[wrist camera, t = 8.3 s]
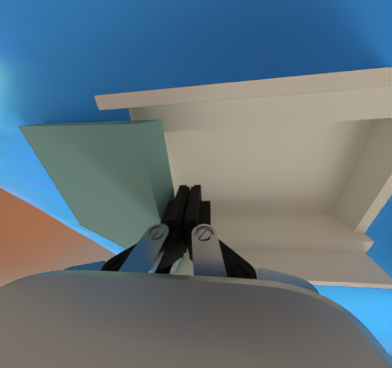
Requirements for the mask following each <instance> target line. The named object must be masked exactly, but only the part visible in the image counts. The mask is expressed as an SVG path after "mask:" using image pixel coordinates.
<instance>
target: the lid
mask: <svg viewBox="0 0 392 368" xmlns="http://www.w3.org/2000/svg"><path fill="white" fill-rule="evenodd" d="M18 127H19V129H20V130H21V132H22V133H23V135H24V136H25V138H26V140H27V141H28V143H29V144H30V146H31V148H32V149H33V151H34V152H35V154H36V155H37V157H38V159H39V160H40V162H41V163H42V165H43V167H44V168H45V170H46V171H47V173H48V174H49V176H50V178H51V179H52V181H53V182H54V184H55V186H56V187H57V189H58V190H59V192H60V193H61V195H62V197H63V198H64V200H65V201H66V203H67V205H68V206H69V208H70V209H71V211H72V212H73V214H74V216H75V217H76V219H77V220H78V222H79V224H80V225H81V226H83V227H85V228H87V229H89V230H91V231H93V232H95V233H97V234H99V235H100V236H102V237H104V238H106V239H108V240H110V241H112V242H114V243H116V244H118V245H119V246H121V247H123V248H125V249H128V248H129V247H131V246H133V245H135V244H136V243H138V242H139V240H140V239H141V237H142V236H143V234H144V233H145V232H146V230H147V229H148V228H149V227H151V226H152V225H155V224H160V222H161V220H162V218H163V215H164V213H165V210H166V208H167V206H168V203H169V201H174V199H175V194H174V188H173V183H172V177H171V171H170V165H169V159H168V153H167V148H166V142H165V136H164V130H163V124H162V119H157V120H129V121H101V122H73V123H45V124H36V125H26V126H18ZM184 257H185V253H184V256H183V258H180V259H179V260H177V261H176V266H175V269H174V272H173V274H175V272H176V270H177V269H178V267H179V265H180V264H181V262H182V261H183V259H184Z"/></svg>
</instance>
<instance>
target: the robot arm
mask: <svg viewBox="0 0 392 368" xmlns="http://www.w3.org/2000/svg"><path fill="white" fill-rule="evenodd" d="M187 247H188V253H189V258H190V260H191V261H192V262H193V274H194V275H177V274H173V272H174V269H175V266H176V261H177V260H179V259H180V258H183V256H184V253H187ZM0 368H392V358H391V357H390V355H389V354H388V353H387V352H386V350H385V349H384V348H383V346H382V345H381V344H380V343H379V342H378V340H377V339H376V338H375V337H374V336H373V334H372V333H371V332H370V331H369V330H368V329H367V328H366V327H365V326H364V324H363V323H362V322H361V321H360V320H359V319H357V318H356V317H355V316H354V315H353V314H352V313H351V312H349V311H348V310H347V309H345V308H344V307H342V306H341V305H339V304H338V303H336V302H334V301H332V300H330V299H329V298H327V297H325V296H322V295H320V294H319V293H318V291H317V289H316V288H315V287H314V286H313V285H312V284H311V283H309V282H308V281H307V280H304V279H302V278H299V277H295V276H292V275H288V274H284V273H280V272H276V271H272V270H269V269H265V268H261V267H260V268H259V269H257V268H253V267H252V265H251V264H250V263H248V262H247V261H246V260H245V259H243V258H242V257H241V256H240V255H238V254H237V253H236V252H235V251H233V250H232V249H231V248H229V247H228V246H227V245H226V244H224V243H223V242H222V241H221V240H219V239H218V237H217V232H216V230H215V228H214V227H212V226H211V206H210V201H202V195H201V185H194V186H193V187H191V190H190V187H187V185H180V186H179V189H178V191H177V194H176V197H175V199H174V201H169V203H168V206H167V208H166V210H165V213H164V215H163V218H162V220H161V222H160V224H155V225H152V226H151V227H149V228H148V229H147V230H146V232H145V233H144V234H143V236H142V237H141V239H140V240H139V242H138V243H136V244H135V245H133V246H131V247H129V248H128V249H126V250H124V251H123V252H121V253H119V254H118V255H116V256H114V257H113V258H111V259H110V260H108V261H107V262H105V261H100V262H94V263H89V264H83V265H78V266H72V267H69V268H66V269H65V270H58V271H50V272H44V273H39V274H34V275H30V276H27V277H24V278H21V279H18V280H15V281H13V282H11V283H8V284H6V285H4V286H2V287H0Z"/></svg>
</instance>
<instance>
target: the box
mask: <svg viewBox="0 0 392 368" xmlns="http://www.w3.org/2000/svg"><path fill="white" fill-rule="evenodd" d="M94 98H95V100H96V103H97V106H98V109H99V110H110V109H126V108H128V110H129V114H130V118H131V120H157V119H162V124H163V130H164V136H165V142H166V148H167V153H168V159H169V165H170V171H171V177H172V183H173V188H174V194H175V197H176V194H177V191H178V189H179V186H180V185H187V187H190V190H191V187H193V186H194V185H201V195H202V201H210V206H211V226H212V227H214V228H215V230H216V232H217V237H218V239H219V240H221V241H222V242H223V243H224V244H226V245H227V246H228V247H229V248H231V249H232V250H233V251H235V252H236V253H237V254H238V255H240V256H241V257H242V258H243V259H245V260H246V261H247V262H248V263H250V264H251V265H252V267H253V268H257V269H259V268H260V267H261V268H265V269H269V270H272V271H276V272H280V273H284V274H288V275H292V276H295V277H299V278H302V279H304V280H307V281H308V282H309V283H311V284H312V285H329V286H349V287H369V288H389V289H392V278H391V277H390V276H389V275H388V274H387V273H386V272H385V271H384V270H383V269H382V268H381V267H380V266H379V265H378V264H377V263H376V262H375V261H374V260H373V259H372V258H370V257H369V256H368V255H367V254H366V252H367V251H368V250H369V248H370V247H371V246H372V245H373V243H374V241H373V240H372V239H371V238H369V237H368V236H367V235H366V234H365V232H366V230H367V229H368V227H369V226H370V225H371V223H372V222H373V220H374V219H375V218H376V216H377V215H378V213H379V212H380V211H381V209H382V208H383V206H384V205H385V204H386V202H387V201H388V199H389V198H390V196H391V195H392V67H386V68H375V69H365V70H355V71H344V72H334V73H323V74H313V75H303V76H292V77H282V78H271V79H261V80H251V81H240V82H230V83H220V84H209V85H199V86H188V87H178V88H168V89H157V90H147V91H136V92H126V93H116V94H105V95H95V96H94ZM175 274H177V275H194V274H193V262H192V261H191V260H190V258H189V253H188V247H187V253H185V257H184V259H183V261H182V262H181V264H180V265H179V267H178V269H177V270H176V272H175Z"/></svg>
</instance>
